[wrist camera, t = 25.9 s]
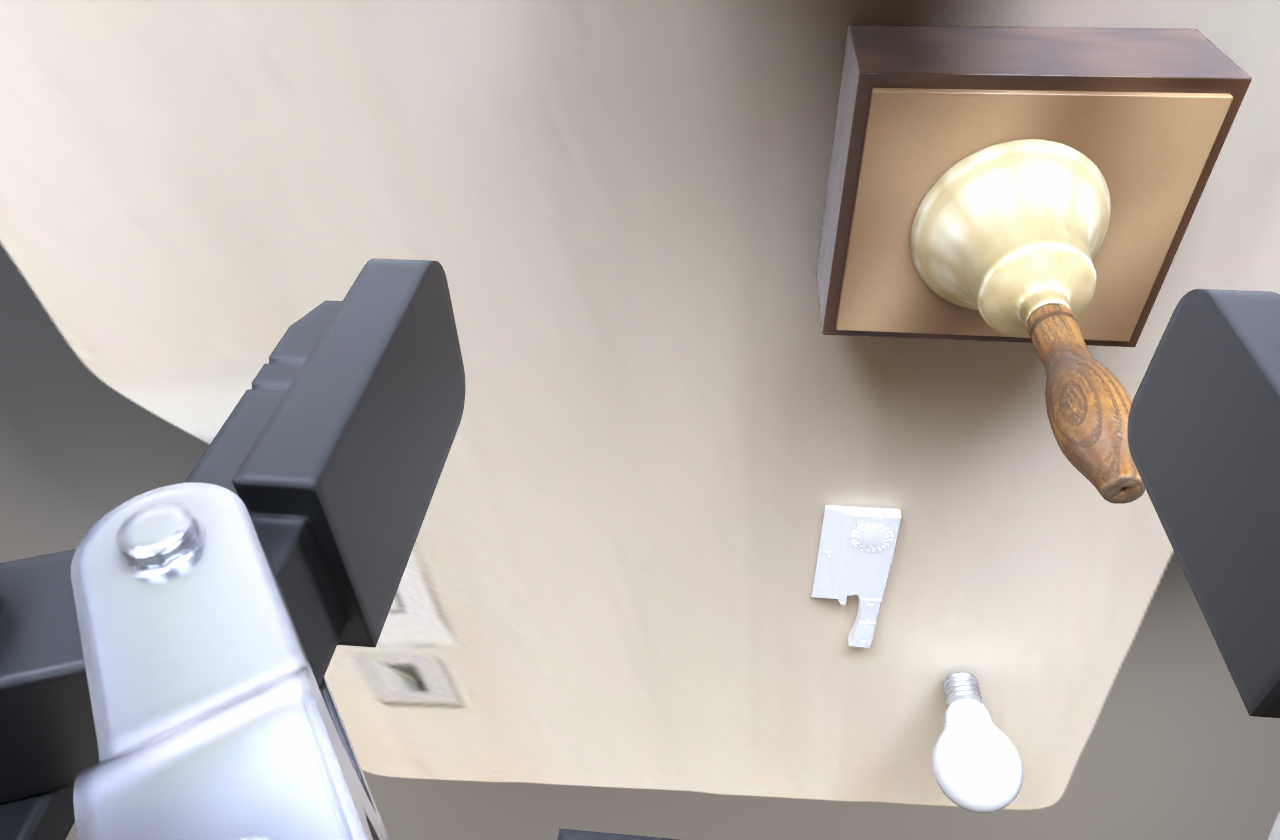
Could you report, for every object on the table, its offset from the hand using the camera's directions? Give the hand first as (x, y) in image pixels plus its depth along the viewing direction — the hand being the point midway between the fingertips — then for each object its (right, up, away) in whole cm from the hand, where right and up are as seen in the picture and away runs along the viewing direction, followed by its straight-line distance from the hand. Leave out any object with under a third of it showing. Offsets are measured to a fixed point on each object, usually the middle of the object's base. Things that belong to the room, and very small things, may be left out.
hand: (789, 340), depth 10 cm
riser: (+15, +12, +33) cm, 39 cm away
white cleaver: (+14, -12, +55) cm, 58 cm away
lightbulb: (+24, -22, +62) cm, 70 cm away
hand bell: (+15, +8, +29) cm, 33 cm away
